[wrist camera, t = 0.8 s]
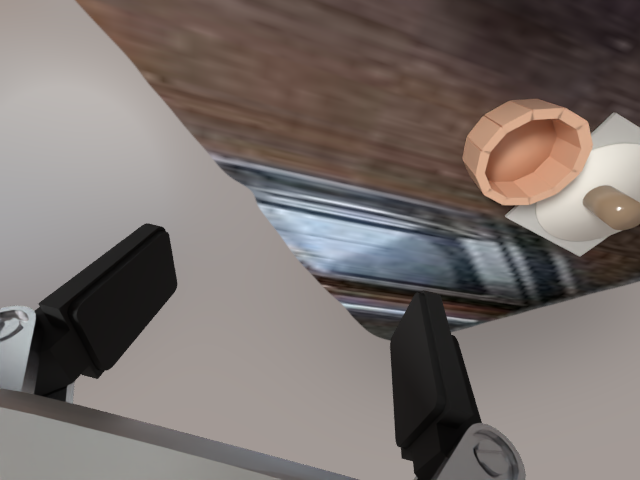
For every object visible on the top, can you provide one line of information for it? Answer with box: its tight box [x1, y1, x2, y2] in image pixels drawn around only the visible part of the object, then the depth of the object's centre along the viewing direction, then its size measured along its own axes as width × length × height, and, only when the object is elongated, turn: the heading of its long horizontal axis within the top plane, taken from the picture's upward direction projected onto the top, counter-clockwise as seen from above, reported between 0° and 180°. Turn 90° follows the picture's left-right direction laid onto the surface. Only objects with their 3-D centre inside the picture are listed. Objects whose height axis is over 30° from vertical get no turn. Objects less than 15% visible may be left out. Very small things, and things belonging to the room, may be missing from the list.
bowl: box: [462, 99, 593, 205], centre depth 34 cm, size 11×11×6 cm
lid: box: [535, 143, 640, 241], centre depth 35 cm, size 14×14×6 cm
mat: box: [505, 112, 640, 256], centre depth 38 cm, size 16×14×1 cm
